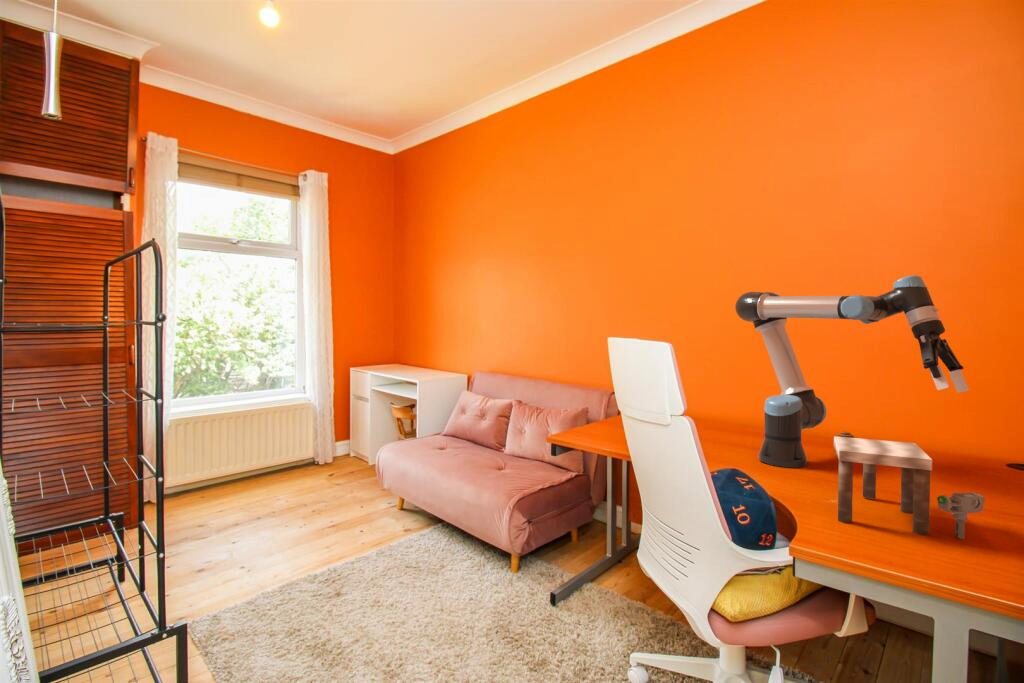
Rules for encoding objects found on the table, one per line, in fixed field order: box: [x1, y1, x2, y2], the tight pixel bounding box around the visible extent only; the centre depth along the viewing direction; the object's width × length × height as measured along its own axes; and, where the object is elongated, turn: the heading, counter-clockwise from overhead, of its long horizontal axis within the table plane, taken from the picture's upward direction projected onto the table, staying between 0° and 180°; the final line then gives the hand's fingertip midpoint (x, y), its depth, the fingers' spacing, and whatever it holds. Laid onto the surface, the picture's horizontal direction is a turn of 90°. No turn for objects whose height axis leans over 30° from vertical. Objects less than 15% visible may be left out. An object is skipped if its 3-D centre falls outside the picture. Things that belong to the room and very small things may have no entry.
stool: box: [833, 435, 933, 536], centre depth 128 cm, size 18×18×18 cm
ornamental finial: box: [833, 430, 856, 452], centre depth 192 cm, size 8×8×8 cm
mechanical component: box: [936, 492, 985, 540], centre depth 115 cm, size 3×10×10 cm, turn 95°
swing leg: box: [862, 463, 877, 500], centre depth 138 cm, size 10×3×15 cm, turn 151°
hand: (953, 390), depth 146 cm, fingers open, 13 cm apart
